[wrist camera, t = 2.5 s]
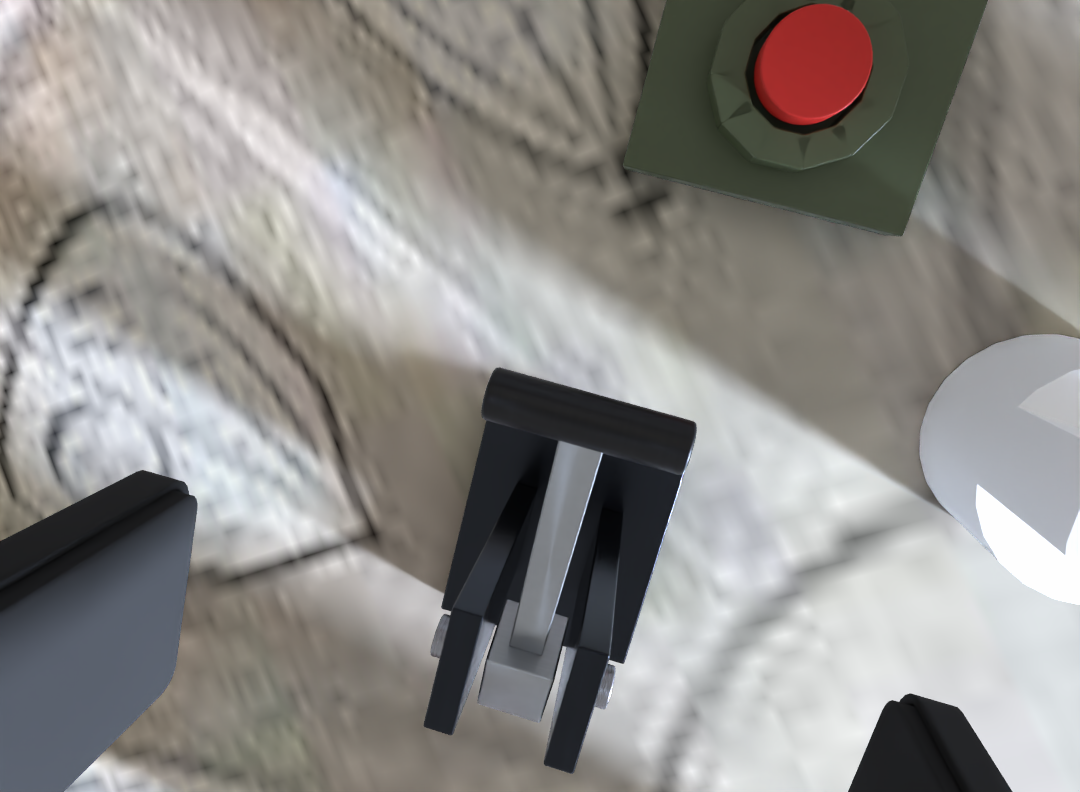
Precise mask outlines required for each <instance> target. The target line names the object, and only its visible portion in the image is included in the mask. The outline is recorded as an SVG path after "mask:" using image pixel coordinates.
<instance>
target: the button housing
mask: <svg viewBox="0 0 1080 792" xmlns="http://www.w3.org/2000/svg"><path fill="white" fill-rule="evenodd" d="M987 2H988V0H666V4H665V8H664V11H663V15H662V19H661V23H660V26H659V30H658V34H657V38H656V42H655V45H654V49H653V53H652V57H651V60H650V64H649V68H648V72H647V75H646V79H645V83H644V87H643V90H642V94H641V98H640V102H639V105H638V109H637V113H636V117H635V121H634V124H633V128H632V132H631V136H630V139H629V143H628V147H627V151H626V154H625V158H624V162H623V166H624V168H625V169H626V170H630V171H634V172H638V173H642V174H646V175H650V176H654V177H658V178H661V179H665V180H669V181H673V182H677V183H681V184H685V185H689V186H693V187H697V188H701V189H705V190H709V191H713V192H717V193H721V194H725V195H728V196H732V197H736V198H740V199H744V200H748V201H752V202H756V203H760V204H764V205H768V206H772V207H776V208H780V209H784V210H788V211H792V212H795V213H799V214H803V215H807V216H811V217H815V218H819V219H823V220H827V221H831V222H835V223H839V224H843V225H847V226H851V227H855V228H858V229H862V230H866V231H870V232H874V233H878V234H882V235H890V236H902V235H903V233H904V231H905V228H906V225H907V222H908V220H909V217H910V214H911V211H912V209H913V206H914V203H915V200H916V198H917V195H918V192H919V189H920V187H921V184H922V181H923V178H924V176H925V173H926V170H927V167H928V165H929V162H930V159H931V156H932V154H933V151H934V148H935V145H936V143H937V140H938V137H939V134H940V132H941V129H942V126H943V123H944V121H945V118H946V115H947V112H948V110H949V107H950V104H951V101H952V99H953V96H954V93H955V90H956V88H957V85H958V82H959V79H960V76H961V74H962V71H963V68H964V65H965V63H966V60H967V57H968V54H969V52H970V49H971V46H972V43H973V41H974V38H975V35H976V32H977V30H978V27H979V24H980V21H981V19H982V16H983V13H984V10H985V8H986V5H987ZM814 4H830V5H835V6H838V7H841V8H843V9H846V10H848V11H849V12H851V13H852V14H854V15H855V16H856V17H857V18H858V19H859V20H860V21H861V23H862V24H863V25H864V27H865V29H866V30H867V32H868V35H869V37H870V40H871V44H872V51H873V61H872V68H871V72H870V76H869V78H868V81H867V83H866V85H865V87H864V88H863V90H862V92H861V93H860V94H859V96H858V97H857V98H856V99H855V100H854V101H853V102H852V103H851V104H850V105H849V106H848V107H846V108H845V109H843V110H842V111H840V112H839V113H837V114H835V115H834V116H832V117H830V118H828V119H826V120H824V121H822V122H819V123H816V124H811V125H793V124H788V123H785V122H783V121H781V120H778V119H777V118H775V117H774V116H772V115H771V114H770V113H769V112H768V111H767V110H766V109H765V108H764V106H763V105H762V103H761V102H760V100H759V98H758V95H757V93H756V89H755V84H754V68H755V63H756V59H757V56H758V54H759V51H760V49H761V47H762V46H763V44H764V42H765V41H766V39H767V38H768V36H769V35H770V33H771V32H772V30H773V29H774V28H775V26H776V25H777V24H778V23H779V22H780V21H781V20H782V19H783V18H785V17H786V16H787V15H789V14H790V13H792V12H794V11H795V10H797V9H800V8H802V7H805V6H809V5H814Z"/></svg>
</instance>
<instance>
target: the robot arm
mask: <svg viewBox="0 0 1080 792" xmlns="http://www.w3.org/2000/svg"><path fill="white" fill-rule="evenodd" d="M196 514H197V500H196V498H195V497H194V496H192V495H189V491H188V487H187V485H186V484H185V482H183V481H179V480H176V479H172V478H169V477H165V476H162V475H158V474H155V473H152V472H148V471H144V470H142V471H138V472H136V473H134V474H132V475H130V476H128V477H126V478H124V479H122V480H120V481H118V482H116V483H114V484H112V485H110V486H108V487H106V488H104V489H102V490H100V491H98V492H96V493H94V494H92V495H90V496H88V497H86V498H84V499H83V500H81V501H79V502H77V503H75V504H73V505H71V506H69V507H67V508H65V509H63V510H61V511H59V512H57V513H55V514H53V515H51V516H49V517H47V518H45V519H43V520H41V521H39V522H37V523H35V524H33V525H32V526H30V527H28V528H26V529H24V530H22V531H20V532H18V533H16V534H14V535H12V536H10V537H8V538H6V539H4V540H2V541H0V792H64V791H65V790H66V789H67V788H68V787H69V786H70V785H71V784H72V783H73V782H74V781H75V780H76V779H77V778H78V777H79V776H80V775H81V774H82V773H83V772H84V771H85V770H86V769H87V768H88V767H89V766H90V765H91V764H92V763H93V762H94V761H95V760H96V759H97V758H98V757H99V756H100V755H101V754H102V753H103V752H104V751H105V750H106V749H107V748H108V747H109V746H110V745H111V744H112V743H113V742H114V741H115V740H116V739H117V738H118V737H119V736H120V735H121V734H122V733H123V732H124V731H125V730H126V729H127V728H128V727H129V726H130V725H131V724H132V723H133V722H134V721H135V720H136V719H137V718H138V717H139V716H140V715H141V714H142V713H143V712H144V711H145V710H146V709H147V708H148V707H149V706H150V705H151V704H152V703H153V702H154V701H155V700H156V699H157V698H158V697H159V696H160V695H161V694H162V693H163V692H164V691H165V689H166V688H167V686H168V685H169V683H170V681H171V679H172V676H173V674H174V671H175V667H176V661H177V653H178V646H179V639H180V631H181V624H182V617H183V609H184V602H185V595H186V587H187V580H188V573H189V565H190V558H191V551H192V543H193V536H194V529H195V521H196ZM848 792H1012V790H1011V789H1010V787H1009V786H1008V784H1007V783H1006V781H1005V779H1004V778H1003V776H1002V775H1001V773H1000V771H999V770H998V768H997V767H996V765H995V763H994V762H993V760H992V759H991V757H990V756H989V754H988V752H987V751H986V749H985V748H984V746H983V744H982V743H981V741H980V740H979V738H978V736H977V735H976V733H975V732H974V730H973V729H972V727H971V725H970V724H969V722H968V721H967V719H966V717H965V716H964V714H963V713H962V712H961V711H960V709H959V708H958V707H955V706H952V705H948V704H945V703H941V702H938V701H934V700H931V699H928V698H924V697H921V696H917V695H914V694H907V695H905V696H904V697H903V698H902V699H901V700H900V702H897V701H893V700H892V701H889V702H888V703H887V704H886V705H885V707H884V709H883V710H882V713H881V715H880V717H879V720H878V722H877V725H876V727H875V729H874V732H873V734H872V736H871V739H870V741H869V743H868V746H867V748H866V751H865V753H864V755H863V758H862V760H861V762H860V765H859V767H858V770H857V772H856V774H855V777H854V779H853V781H852V784H851V786H850V789H849V791H848Z"/></svg>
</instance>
